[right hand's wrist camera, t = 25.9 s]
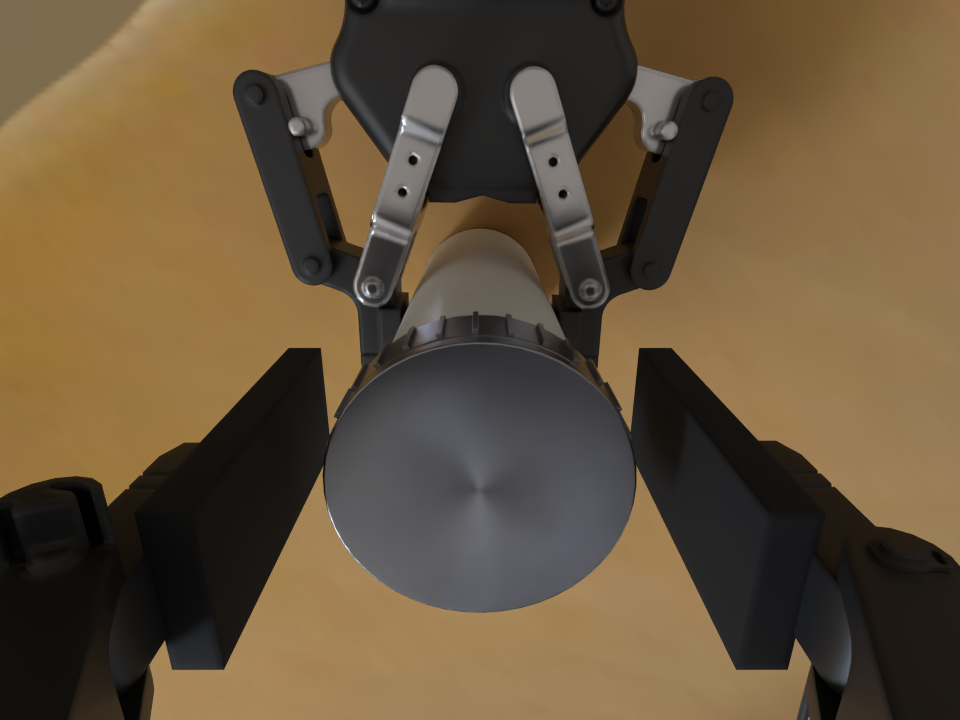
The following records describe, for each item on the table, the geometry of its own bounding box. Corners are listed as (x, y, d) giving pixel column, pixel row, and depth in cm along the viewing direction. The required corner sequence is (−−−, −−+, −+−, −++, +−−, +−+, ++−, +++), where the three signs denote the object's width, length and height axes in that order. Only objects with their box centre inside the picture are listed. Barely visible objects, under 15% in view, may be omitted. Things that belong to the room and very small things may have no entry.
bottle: (530, 221, 24) (597, 323, 10) (541, 332, 26) (612, 548, 12) (414, 236, 25) (328, 357, 11) (433, 346, 26) (380, 573, 12)
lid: (322, 313, 11) (297, 341, 9) (629, 305, 11) (654, 332, 9) (353, 563, 13) (336, 619, 11) (613, 557, 13) (630, 612, 11)
